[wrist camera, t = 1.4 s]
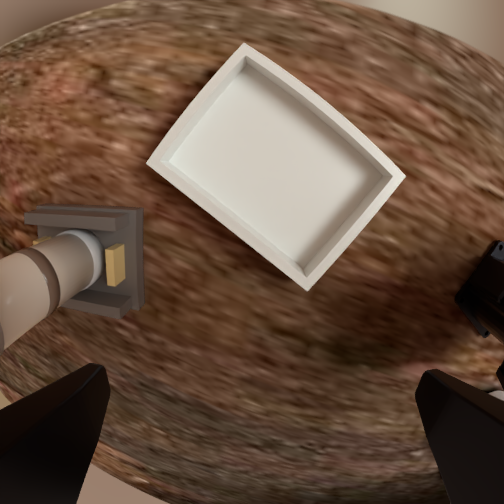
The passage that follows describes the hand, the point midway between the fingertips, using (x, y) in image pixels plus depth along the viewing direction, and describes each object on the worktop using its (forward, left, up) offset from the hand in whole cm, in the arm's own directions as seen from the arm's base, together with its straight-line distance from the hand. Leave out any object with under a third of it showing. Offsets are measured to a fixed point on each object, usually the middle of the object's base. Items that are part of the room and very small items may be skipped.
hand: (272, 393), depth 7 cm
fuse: (+10, +8, -12) cm, 18 cm away
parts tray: (+3, -5, -13) cm, 14 cm away
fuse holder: (+10, +8, -13) cm, 19 cm away
